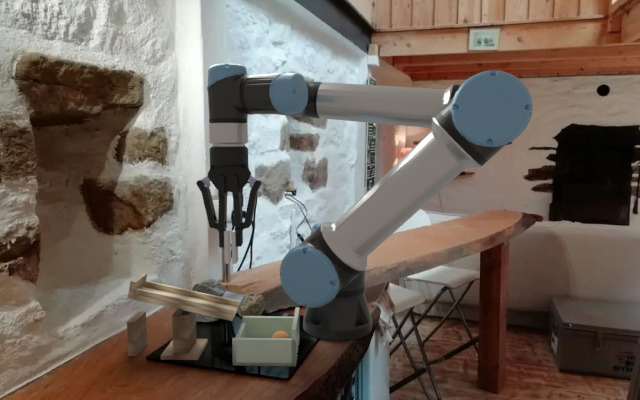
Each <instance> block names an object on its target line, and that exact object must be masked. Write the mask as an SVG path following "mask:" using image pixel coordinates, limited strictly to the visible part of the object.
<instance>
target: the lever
mask: <svg viewBox="0 0 640 400" xmlns="http://www.w3.org/2000/svg"><path fill="white" fill-rule="evenodd" d="M147 276H148V273H147V272H141V273H140V274H138V275H137V276H135V277H134V278H133V279H131V280H130V282H129V287H128V288H129V289H128V294H127V299H129V300H133V301H138V302H143V303H147V304H153V305H156V306H162V307H165V308H171V309H175V311H176V312H175V311H174V313H175V315H176V316H177V317H179V316H181V314H182V313H183V312H184V311H188V312H193V313H197V314H202V315H207V316H211V317H216V318H219V320H220V319H221V320H226V321H230V322H233V321H234V319H235V316H236V314H238V313H237V311H238V309H239V307H240V305H241V303H242V301H243V299H244V294H241V293H236V292H232V291H228V290H227V291H226V292H225V293H224V295H223V296H222V297H219V296H215V295H210V294H206V293H201V292H196V291H192V289H187V288H183V287H177V286H173V285H168V284H163V283H158V282H156V281H155V282H154V281H150V280H147V278H148V277H147Z"/></svg>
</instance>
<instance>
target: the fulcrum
mask: <svg viewBox="0 0 640 400" xmlns="http://www.w3.org/2000/svg"><path fill="white" fill-rule="evenodd" d="M175 312H176V310H175V311H174V313H173V314H172V315H171V323H172V328H171V329H172V340H171V341H170V342H169V344H168V345H167V347H165V349H164V350H163V352H162V353H161V354H160V360H167V361H170V360H171V361H173V360H174V361H175V360H176V361H177V360H178V361H182V360H183V361H199V359H200V357H201V355H203V352H204V350H205V349H206V347H207V345H208V343H209V339H208V338H197V322H196V313H193V312H188V311H184V312H183V313H182V314H181V316H179V317H177V316H176V315H175ZM147 328H148V327H147V311H137V312H135V313H134V315H133V316H131V317H130V319H128V320H127V321H126V332H127V334H126V335H127V336H126V337H127V353H128V354H127V356H128V357H138V355H139V354H140V353H141V352H142V351H143V350H144V349H145V347H147V345H148V333H147V331H148V330H147Z"/></svg>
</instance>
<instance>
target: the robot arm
mask: <svg viewBox="0 0 640 400" xmlns="http://www.w3.org/2000/svg"><path fill="white" fill-rule="evenodd" d="M207 73H208V74H207V87H206V90H207V99H208V100H207V101H208V117H209V118H208V142H209V145H210V144H212V146H210V148H209V170H208V172H207V175H206V176H205V177H203V178H202V179H199V180H197V181H196V182H195V184H196V186H197V188H198V189H199V191H200V193H201V196H202V200H203V204H204V209H205V213H206V219H207V222H208V226H209V228H210V229H214V230H217V232H218V245H219V247H223V248H224V264H225V265H227V264H228V265H229V264H230V262H231V264H232V265H233V264H234V265H236V264H237V263H238V261H239V248H240V247H242V245H243V244H244V235H243V234H244V231H243V230H245V229H249V228H250V227H251V225H252V224H253V218H254V212H255V208H256V203H257V202H256V201H257V196H258V191H259V190H260V188H261V187H262V184H263V180H262V179H258V178H256V177H254V176H253V175H252V172H251V170H250V167H249V147H248V146H246V145H247V144H248V142H249V136H248V135H249V133H248V132H249V131H248V127H249V126H248V118H249V117H248V115H278V116H289V117H290V116H291V117H296V118H302V119H307V118H312V119H324V120H333V121H334V120H336V121H346V122H347V121H348V122H357V123H359V122H360V123H371V124H379V125H380V124H383V125H392V126H393V125H394V126H405V127H415V128H416V127H417V128H427V129H430V131H429V133H428V134H427V135H426V136H424V137H423V138H422V140H420V141H419V142H418V143H417V144H416V145H415V146H414V147H413V148H412V149H411V150H410V151H409V152H407V153H406V154H405V155H404V156H403V157H402V158H401V159H400V160H399V161H398V162H397V163H396V164H395V165H394V166H392V168H391V169H390V170H389V171H388V172H387V173H385V174H384V175H383V176H382V177H381V178H380V179H379V180H378V181H377V182H376V183H375V184H374V185H373V186H372V187H370V189H369V190H367V192H366V193H365V194H363V196H361V197H360V198H359V199H358V200H357V201H356V202H355V203H354V204H352V206H351V207H350V208H348V210H347V211H346V212H345V213H343V215H342V216H339V218H338V219H337V220H336V221H323V222H322V223H316V224H313V226H312V227H311V233H310V234H309V235H308V237H307V238H305V240H303V241H302V242H301V243H299V245H296V246H294V247H292V248H291V249H290V250H289V251H288V252H287V253H286V254H285V255H284V256H283V258H282V260H281V263H280V265H279V266H280V267H279V279H280V280H279V281H280V284H281V286H282V289H283V290H284V292H285V293H286V295H287V296H288V298H290V299H291V300H292V301H294V302H295V303H296V304H298V305H300V306H302V307H306V308H305V311H304V314H303V318H302V319H303V321H302V328H303V330H304V332H305V333H306V334H308V335H310V336H311V337H314V338H317V337H318V338H317V339H321V340H327V341H340V342H341V341H342V342H343V341H345V342H346V341H352V340H358V339H361V338H364V337H366V336H369V334H370V333H372V330H373V317H372V314H371V311H370V308H369V303H368V301H367V297H366V295H365V294H366V293H365V291H366V290H365V289H366V288H365V287H366V269H367V267H368V256H369V255H370V254H372V253H373V252H374V251H375V250H376V249H378V248H379V247H380V246H381V245H382V244H383V243H384V242H385V241H386V240H387V239H388V238H390V236H392V235H393V234H394V233H395V232H396V231H397V230H399V229H400V228H401V227H402V226H403V225H404V224H405V223H406V222H407V221H408V220H410V219H411V218H412V217H413V216H414V215H415V214H416V213H418V211H420V210H421V209H422V208H423V207H424V206H425V205H427V203H429V202H430V201H431V200H432V199H434V197H435V196H437V194H439V193H440V192H441V191H442V190H443V189H444V188H446V187H447V186H448V185H449V184H450V183H452V181H453V180H455V179H456V178H457V177H458V176H459V175H460V174H461V173H462V172H464V171H465V170H466V169H467V168H481V167H482V166H484V165H485V164H486V163H488V162H489V161H490V160H491V159H492V158H493V157H494V156H495V155H496V154H498V152H500V151H501V150H502V149H504V148H505V147H506V145H508V144H510V142H513V141H514V140H516V139H518V137H519V136H521V135H522V133H524V132H525V130H526V129H527V127H528V126H529V123H530V121H531V118H532V116H533V115H532V113H533V100H532V99H533V98H532V96H531V94H530V91H529V89H528V87H527V86H526V85H525V84H524V82H523V81H521V79H519V78H518V77H517V76H516V75H514V74H511V73H509V72H507V71H503V70H493V69H491V70H485V71H481V72H477V73H475V74H474V75H471V76H470V77H468V78H467V79H466V80H465V81H463V83H461V84H456V83H455V84H454V83H453V84H451V85H450V86H448V87H447V88H446V89H445V88H428V87H426V88H425V87H413V86H412V87H410V86H409V87H408V86H393V85H392V86H391V85H378V84H377V85H376V84H358V83H344V82H343V83H340V82H326V81H325V82H323V81H322V82H321V81H308V80H306V79H305V77H304V76H303V75H302V74H301V73H299V72H286V71H282V72H280V73H278V72H277V73H263V74H248V72H247V68H246V66H244V65H242V64H239V63H217V64H216V63H215V64H213V65H210V66H209V68H208V71H207ZM248 182H249V185H248V186H249V188H250V191H249V195H248V201H247V206H246V212H245V215H244V216H245V217H244V218H243V205H242V204H243V203H242V190H243V189H244V188H245V186H246V185H247V183H248ZM211 184H212V185H213V186H214V187H215V188H216V190H217V197H218V210H217V211H218V213H216V209H215V205H214V202H213V201H214V199H213V196H212V191H211V189H210V187H211ZM229 192H230V193H232V194H231V195H232V200H233V215H234V229H233V230H232V231H231V229H229V228H228V229H227V227H228V223H227V222H228V221H227V220H228V219H227V218H228V193H229ZM217 214H218V215H217ZM217 217H218V218H217ZM243 219H244V220H243Z"/></svg>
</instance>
